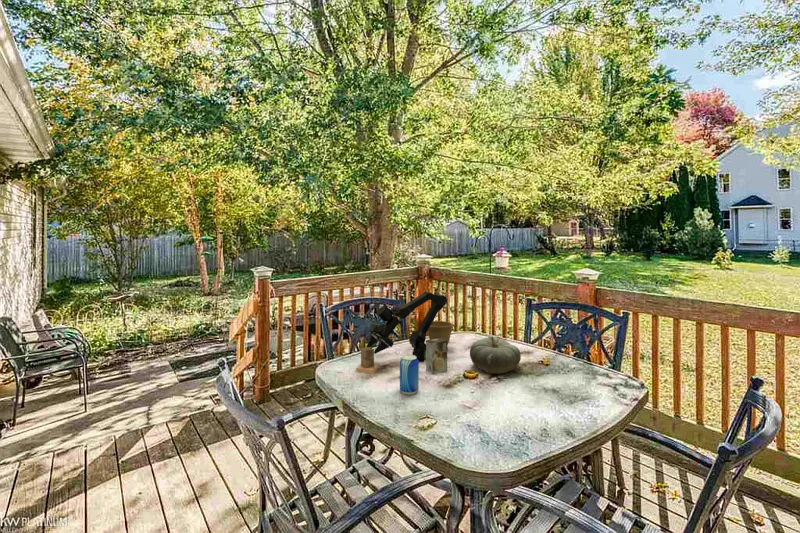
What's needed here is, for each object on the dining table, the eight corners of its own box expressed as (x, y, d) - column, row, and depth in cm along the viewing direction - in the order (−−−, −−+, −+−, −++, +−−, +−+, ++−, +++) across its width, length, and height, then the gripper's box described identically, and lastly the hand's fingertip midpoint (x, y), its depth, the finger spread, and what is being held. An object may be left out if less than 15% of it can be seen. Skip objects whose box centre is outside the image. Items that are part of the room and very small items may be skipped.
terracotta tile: (379, 368, 216) (379, 364, 216) (372, 375, 207) (372, 370, 207) (363, 366, 219) (363, 362, 219) (356, 372, 210) (356, 368, 210)
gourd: (487, 352, 233) (491, 323, 228) (527, 370, 216) (532, 340, 211) (460, 367, 216) (463, 337, 211) (501, 388, 199) (505, 356, 194)
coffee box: (440, 367, 217) (441, 337, 215) (447, 371, 211) (447, 340, 209) (425, 370, 212) (425, 339, 211) (432, 374, 207) (432, 343, 205)
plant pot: (456, 348, 247) (456, 322, 245) (444, 355, 235) (445, 328, 233) (433, 344, 255) (434, 319, 253) (422, 351, 243) (422, 324, 241)
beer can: (412, 397, 180) (412, 361, 179) (396, 392, 185) (396, 358, 183) (421, 390, 188) (422, 356, 186) (406, 386, 192) (406, 352, 190)
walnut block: (369, 363, 216) (369, 346, 215) (374, 366, 212) (374, 349, 211) (361, 365, 214) (360, 348, 213) (365, 368, 210) (365, 351, 209)
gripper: (371, 313, 221) (352, 337, 217) (387, 321, 205) (367, 346, 201) (384, 326, 226) (366, 349, 222) (401, 334, 210) (382, 359, 206)
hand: (370, 350), depth 213 cm, fingers open, 9 cm apart
